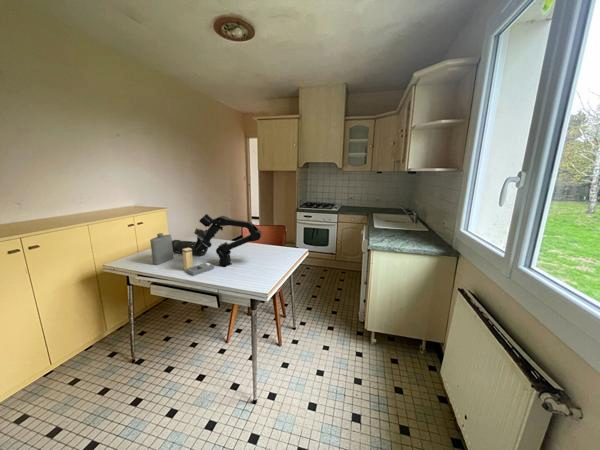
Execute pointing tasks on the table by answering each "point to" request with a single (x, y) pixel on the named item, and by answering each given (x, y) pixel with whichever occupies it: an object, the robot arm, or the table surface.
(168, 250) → the flask
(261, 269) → the table surface
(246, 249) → the table surface
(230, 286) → the table surface
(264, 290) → the table surface
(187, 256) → the plug
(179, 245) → the muzzle brake
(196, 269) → the bar
